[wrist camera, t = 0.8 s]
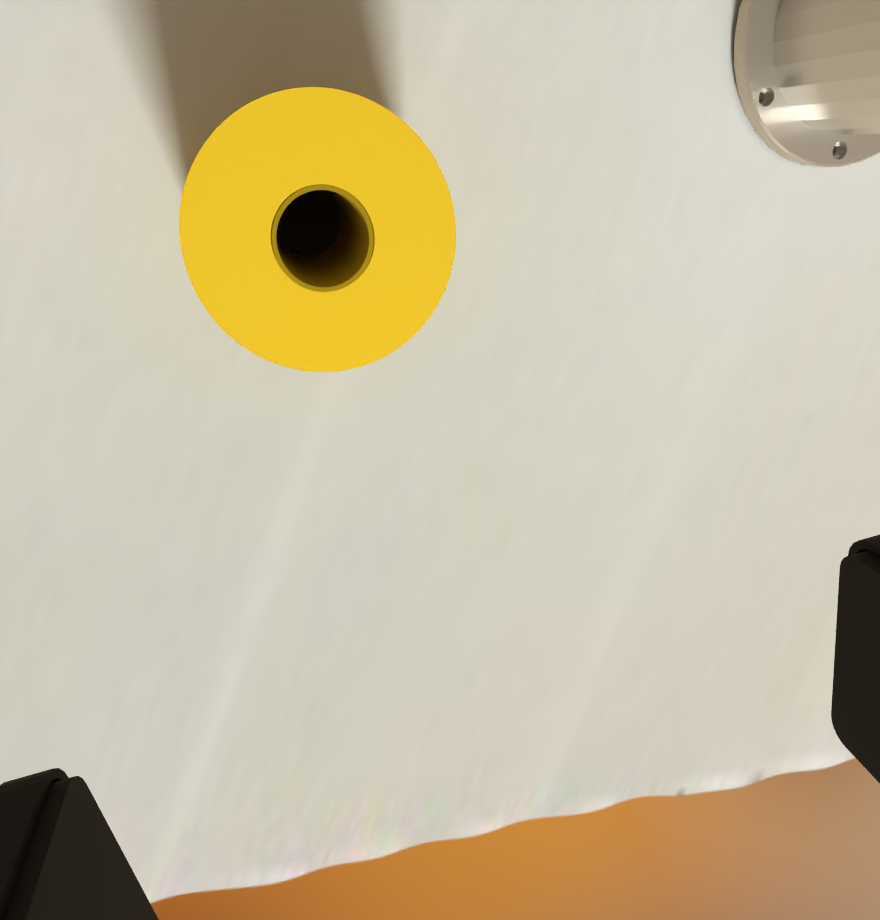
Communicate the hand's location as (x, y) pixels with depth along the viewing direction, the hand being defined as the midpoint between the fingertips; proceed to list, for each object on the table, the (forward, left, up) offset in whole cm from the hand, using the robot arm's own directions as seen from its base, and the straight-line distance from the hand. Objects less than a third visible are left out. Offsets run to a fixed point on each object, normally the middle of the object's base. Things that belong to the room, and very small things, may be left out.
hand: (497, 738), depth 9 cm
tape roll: (-2, -3, -31) cm, 32 cm away
